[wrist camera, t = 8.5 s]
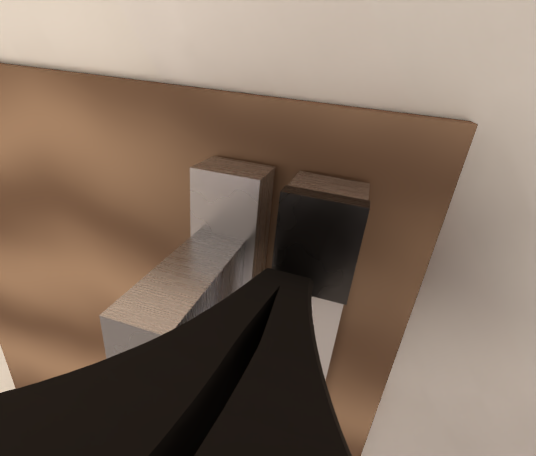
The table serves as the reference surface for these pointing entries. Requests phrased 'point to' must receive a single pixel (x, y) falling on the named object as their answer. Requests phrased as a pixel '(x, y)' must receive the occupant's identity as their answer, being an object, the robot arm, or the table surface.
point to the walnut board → (178, 209)
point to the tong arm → (200, 255)
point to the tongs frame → (322, 244)
